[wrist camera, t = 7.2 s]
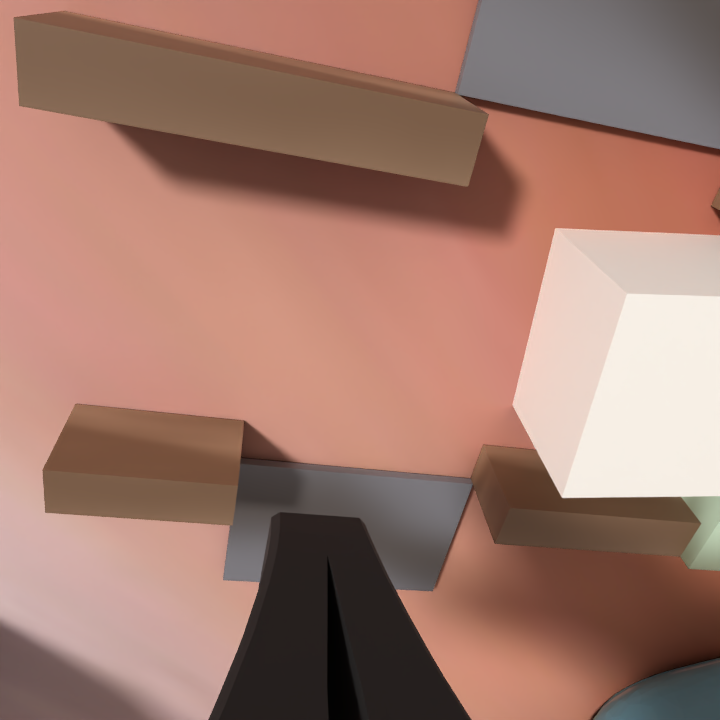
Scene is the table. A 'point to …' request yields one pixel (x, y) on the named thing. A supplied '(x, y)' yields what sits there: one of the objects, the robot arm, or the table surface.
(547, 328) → the block
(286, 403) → the table surface
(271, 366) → the table surface
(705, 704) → the casserole dish
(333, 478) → the trap lane
